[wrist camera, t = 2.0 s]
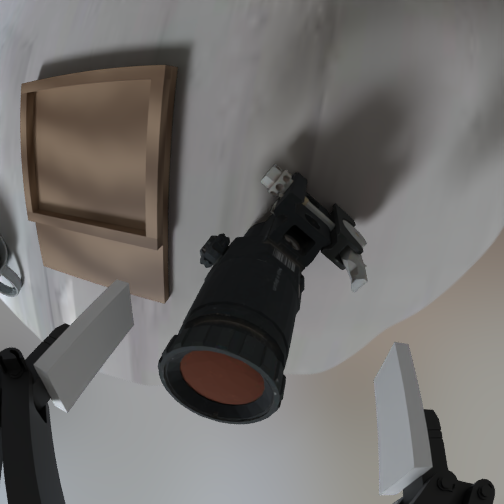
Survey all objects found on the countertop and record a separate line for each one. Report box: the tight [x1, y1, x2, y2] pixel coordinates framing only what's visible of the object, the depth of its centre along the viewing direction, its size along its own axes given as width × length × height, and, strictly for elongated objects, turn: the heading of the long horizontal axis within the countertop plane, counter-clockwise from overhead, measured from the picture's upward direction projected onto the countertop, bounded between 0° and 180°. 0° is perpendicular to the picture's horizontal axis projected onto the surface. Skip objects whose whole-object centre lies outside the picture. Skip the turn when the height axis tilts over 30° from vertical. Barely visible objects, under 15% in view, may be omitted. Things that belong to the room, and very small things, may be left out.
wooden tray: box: [20, 65, 178, 304], centre depth 24 cm, size 20×16×2 cm
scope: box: [158, 164, 368, 424], centre depth 18 cm, size 8×14×10 cm
